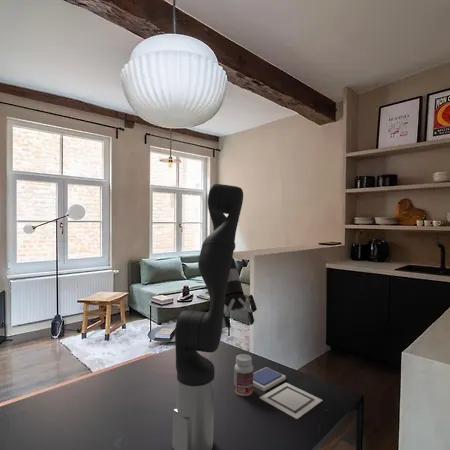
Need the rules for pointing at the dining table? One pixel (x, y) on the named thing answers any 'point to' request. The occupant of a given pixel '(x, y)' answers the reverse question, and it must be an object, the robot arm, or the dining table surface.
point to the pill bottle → (243, 375)
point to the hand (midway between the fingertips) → (240, 326)
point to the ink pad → (267, 378)
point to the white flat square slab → (291, 400)
